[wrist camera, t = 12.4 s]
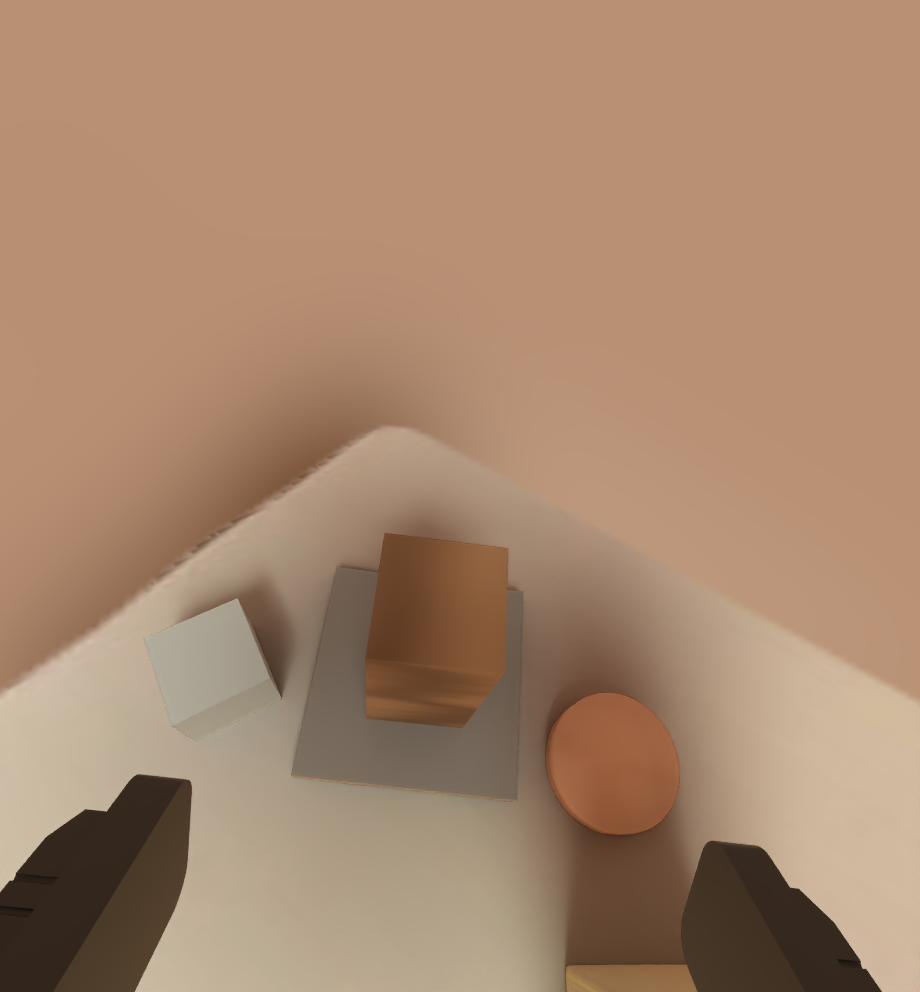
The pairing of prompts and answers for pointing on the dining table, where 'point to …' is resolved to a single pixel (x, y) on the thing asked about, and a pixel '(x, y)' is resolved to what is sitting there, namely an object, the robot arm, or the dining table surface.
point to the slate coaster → (397, 745)
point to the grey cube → (211, 670)
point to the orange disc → (612, 764)
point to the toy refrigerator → (629, 978)
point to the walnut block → (435, 630)
